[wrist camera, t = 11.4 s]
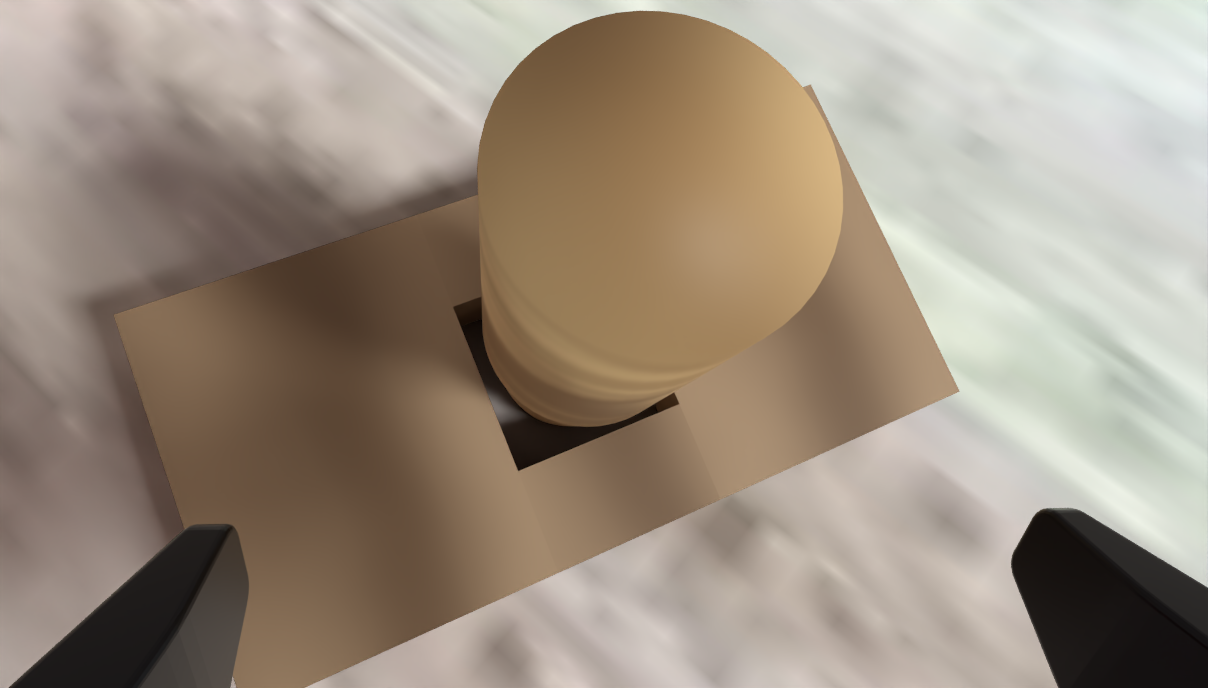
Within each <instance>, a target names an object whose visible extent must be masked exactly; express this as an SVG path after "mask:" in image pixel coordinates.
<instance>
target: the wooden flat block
mask: <svg viewBox="0 0 1208 688" xmlns="http://www.w3.org/2000/svg"><path fill="white" fill-rule="evenodd" d="M803 89H804V90H805V92H806V93H807V94H808V96H809V97H810V98H811V100H812V101H813V103H814V104H815V106H816V108H817V109H818V111H819V113H820V115H821V117H822V118H823V120H824V122H825V124H826V126H827V129H828V131H829V134H830V136H831V138H832V141H833V143H834V146H835V150H836V154H837V157H838V161H839V165H840V171H841V178H842V185H843V215H842V223H841V231H840V235H839V239H838V243H837V246H836V250H835V254H834V256H833V258H832V261H831V263H830V265H829V268H828V270H827V272H826V274H825V276H824V278H823V279H822V281H821V283H820V284H819V286H818V288H817V289H816V291H815V293H814V294H813V295H812V296H811V297H810V299H809V300H808V301H807V302H806V304H805V305H804V306H803V307H802V308H801V310H800V311H799V312H797V313H796V314H795V315H794V316H793V317H792V318H791V319H790V320H789V321H788V322H786V323H785V324H784V325H783V326H782V327H780V328H779V329H777V330H776V331H774V332H773V333H771V334H770V335H768V336H767V337H765V338H764V339H762V340H761V341H759V342H757V343H756V344H754V345H752V346H751V347H749V348H747V349H746V350H744V351H742V352H741V353H739V354H737V355H735V356H734V357H732V358H730V359H729V360H727V361H725V362H724V363H722V364H720V365H719V366H717V367H715V368H714V369H712V370H710V371H709V372H707V373H705V374H704V375H702V376H700V377H699V378H697V379H695V380H694V381H692V382H690V383H689V384H687V385H685V386H684V387H682V388H680V389H679V390H677V391H675V392H674V393H672V394H670V395H669V396H667V397H665V398H663V399H662V400H660V401H658V402H657V403H655V406H656V408H657V411H658V413H657V414H654V415H652V416H650V417H647V418H645V419H642V420H640V421H638V422H635V423H633V424H630V425H628V426H626V427H623V428H621V429H618V430H616V431H614V432H611V433H609V434H606V435H604V436H602V437H599V438H597V439H594V440H592V441H590V442H587V443H585V444H582V445H580V446H578V447H575V448H573V449H570V450H568V451H566V452H563V453H561V454H558V455H556V456H554V457H551V458H549V459H546V460H544V461H542V462H539V463H537V464H534V465H532V466H530V467H527V468H525V469H522V470H520V471H518V470H517V467H516V465H515V462H514V460H513V457H512V455H511V452H510V450H509V447H508V445H507V442H506V439H505V437H504V434H503V432H502V429H501V427H500V424H499V422H498V419H497V417H496V414H495V412H494V409H493V407H492V404H491V402H490V399H489V397H488V394H487V392H486V389H485V386H484V384H483V381H482V379H481V376H480V374H479V371H478V369H477V366H476V364H475V361H474V359H473V356H472V354H471V351H470V349H469V346H468V344H467V341H466V339H465V336H464V333H463V331H462V328H461V326H464V325H466V324H469V323H472V322H475V321H477V320H480V319H482V297H481V267H480V236H479V206H478V195H475V196H472V197H469V198H466V199H463V200H460V201H457V202H454V203H451V204H448V205H445V206H442V207H439V208H436V209H433V210H430V211H426V212H423V213H420V214H417V215H414V216H411V217H408V218H405V219H402V220H399V221H396V222H393V223H390V224H387V225H384V226H381V227H378V228H375V229H372V230H369V231H366V232H363V233H360V234H357V235H354V236H351V237H348V238H345V239H342V240H339V241H336V242H332V243H329V244H326V245H323V246H320V247H317V248H314V249H311V250H308V251H305V252H302V253H299V254H296V255H293V256H290V257H287V258H284V259H281V260H278V261H275V262H272V263H269V264H266V265H263V266H260V267H257V268H254V269H251V270H248V271H245V272H242V273H239V274H235V275H232V276H229V277H226V278H223V279H220V280H217V281H214V282H211V283H208V284H205V285H202V286H199V287H196V288H193V289H190V290H187V291H184V292H181V293H178V294H175V295H172V296H169V297H166V298H163V299H160V300H157V301H154V302H151V303H148V304H145V305H142V306H138V307H135V308H132V309H129V310H126V311H123V312H120V313H117V314H114V318H115V321H116V324H117V327H118V330H119V333H120V336H121V339H122V342H123V345H124V348H125V351H126V354H127V357H128V360H129V363H130V366H131V370H132V373H133V376H134V379H135V382H136V385H137V388H138V391H139V394H140V397H141V400H142V403H143V406H144V409H145V412H146V415H147V418H148V421H149V424H150V427H151V430H152V433H153V436H154V439H155V442H156V445H157V448H158V451H159V454H160V457H161V460H162V463H163V466H164V469H165V472H166V475H167V478H168V481H169V484H170V487H171V490H172V493H173V496H174V499H175V502H176V505H177V509H178V512H179V515H180V518H181V521H182V524H183V527H184V529H186V528H188V527H189V526H191V525H195V524H230V525H233V526H234V527H235V528H236V530H237V532H238V535H239V539H240V543H241V548H242V552H243V556H244V560H245V564H246V568H247V573H248V578H249V595H248V602H247V607H246V612H245V617H244V621H243V626H242V631H241V636H240V641H239V646H238V651H237V656H236V661H235V666H234V671H233V678H234V681H235V684H236V687H237V688H305V687H307V686H309V685H311V684H313V683H316V682H318V681H320V680H322V679H324V678H327V677H329V676H331V675H333V674H335V673H338V672H340V671H342V670H344V669H347V668H349V667H351V666H353V665H355V664H358V663H360V662H362V661H364V660H366V659H369V658H371V657H373V656H375V655H377V654H380V653H382V652H384V651H386V650H389V649H391V648H393V647H395V646H397V645H400V644H402V643H404V642H406V641H408V640H411V639H413V638H415V637H417V636H419V635H422V634H424V633H426V632H428V631H431V630H433V629H435V628H437V627H439V626H442V625H444V624H446V623H448V622H450V621H453V620H455V619H457V618H459V617H462V616H464V615H466V614H468V613H470V612H473V611H475V610H477V609H479V608H481V607H484V606H486V605H488V604H490V603H492V602H495V601H497V600H499V599H501V598H504V597H506V596H508V595H510V594H512V593H515V592H517V591H519V590H521V589H523V588H526V587H528V586H530V585H532V584H534V583H537V582H539V581H541V580H543V579H546V578H548V577H550V576H552V575H554V574H557V573H559V572H561V571H563V570H565V569H568V568H570V567H572V566H574V565H576V564H579V563H581V562H583V561H585V560H588V559H590V558H592V557H594V556H596V555H599V554H601V553H603V552H605V551H607V550H610V549H612V548H614V547H616V546H619V545H621V544H623V543H625V542H627V541H630V540H632V539H634V538H636V537H638V536H641V535H643V534H645V533H647V532H649V531H652V530H654V529H656V528H658V527H661V526H663V525H665V524H667V523H669V522H672V521H674V520H676V519H678V518H680V517H683V516H685V515H687V514H689V513H691V512H694V511H696V510H698V509H700V508H703V507H705V506H707V505H709V504H711V503H714V502H716V501H718V500H720V499H722V498H725V497H727V496H729V495H731V494H733V493H736V492H738V491H740V490H742V489H745V488H747V487H749V486H751V485H753V484H756V483H758V482H760V481H762V480H764V479H767V478H769V477H771V476H773V475H776V474H778V473H780V472H782V471H784V470H787V469H789V468H791V467H793V466H795V465H798V464H800V463H802V462H804V461H806V460H809V459H811V458H813V457H815V456H818V455H820V454H822V453H824V452H826V451H829V450H831V449H833V448H835V447H837V446H840V445H842V444H844V443H846V442H848V441H851V440H853V439H855V438H857V437H860V436H862V435H864V434H866V433H868V432H871V431H873V430H875V429H877V428H879V427H882V426H884V425H886V424H888V423H890V422H893V421H895V420H897V419H899V418H902V417H904V416H906V415H908V414H910V413H913V412H915V411H917V410H919V409H921V408H924V407H926V406H928V405H930V404H932V403H935V402H937V401H939V400H941V399H944V398H946V397H948V396H950V395H952V394H955V393H957V392H959V389H958V387H957V385H956V383H955V381H954V379H953V377H952V375H951V373H950V371H949V369H948V367H947V365H946V363H945V361H944V359H943V357H942V354H941V352H940V350H939V348H938V346H937V344H936V342H935V340H934V338H933V336H932V334H931V332H930V330H929V328H928V326H927V324H926V321H925V319H924V317H923V315H922V313H921V311H920V309H919V307H918V305H917V303H916V301H915V299H914V297H913V295H912V293H911V291H910V288H909V286H908V284H907V282H906V280H905V278H904V276H903V274H902V272H901V270H900V268H899V266H898V264H897V262H896V260H895V258H894V256H893V253H892V251H891V249H890V247H889V245H888V243H887V241H886V239H885V237H884V235H883V233H882V231H881V229H880V227H879V225H878V223H877V220H876V218H875V216H874V214H873V212H872V210H871V208H870V206H869V204H868V202H867V200H866V198H865V196H864V194H863V192H862V190H861V188H860V185H859V183H858V181H857V179H856V177H855V175H854V173H853V171H852V169H851V167H850V165H849V163H848V161H847V159H846V157H845V155H844V152H843V150H842V148H841V146H840V144H839V142H838V140H837V138H836V136H835V134H834V132H833V130H832V128H831V126H830V124H829V122H828V120H827V117H826V115H825V113H824V111H823V109H822V107H821V105H820V103H819V101H818V99H817V97H816V95H815V93H814V91H813V89H812V87H811V85H808V86H805V87H803Z"/></svg>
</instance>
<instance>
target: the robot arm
mask: <svg viewBox="0 0 1208 688" xmlns="http://www.w3.org/2000/svg"><path fill="white" fill-rule="evenodd" d="M1011 568H1012V573H1013V577H1014V579H1015V582H1016V584H1017V587H1018V589H1019V592H1020V594H1021V597H1022V599H1023V602H1024V604H1025V607H1026V609H1027V612H1028V614H1029V617H1030V619H1031V622H1032V624H1033V627H1034V629H1035V632H1036V634H1037V637H1038V639H1039V642H1040V644H1041V647H1042V649H1043V651H1044V654H1045V656H1046V659H1047V661H1048V664H1049V666H1050V669H1051V671H1052V674H1053V676H1054V679H1055V681H1056V683H1057V686H1058V688H1208V587H1206V586H1204V585H1203V584H1201V583H1199V582H1198V581H1196V580H1194V579H1193V578H1191V577H1189V576H1188V575H1186V574H1184V573H1183V572H1181V571H1180V570H1178V569H1176V568H1175V567H1173V566H1171V565H1170V564H1168V563H1166V562H1165V561H1163V560H1161V559H1160V558H1158V557H1156V556H1155V555H1153V554H1151V553H1150V552H1148V551H1147V550H1145V549H1143V548H1142V547H1140V546H1138V545H1137V544H1135V543H1133V542H1132V541H1130V540H1128V539H1127V538H1125V537H1123V536H1122V535H1120V534H1119V533H1117V532H1115V531H1114V530H1112V529H1110V528H1109V527H1107V526H1105V525H1104V524H1102V523H1100V522H1099V521H1097V520H1095V519H1094V518H1092V517H1090V516H1089V515H1087V514H1086V513H1084V512H1082V511H1080V510H1077V509H1073V508H1046V509H1042V510H1040V511H1039V512H1037V513H1036V514H1035V515H1034V517H1033V518H1032V520H1031V522H1030V524H1029V526H1028V527H1027V529H1026V531H1025V533H1024V534H1023V536H1022V538H1021V540H1020V542H1019V543H1018V545H1017V547H1016V549H1015V550H1014V552H1013V555H1012V560H1011ZM248 595H249V578H248V573H247V568H246V564H245V560H244V556H243V552H242V548H241V543H240V539H239V535H238V532H237V530H236V528H235V527H234V526H233V525H230V524H195V525H191V526H189V527H188V528H186V529H184V530H183V531H182V532H181V533H180V534H178V535H177V536H176V537H175V538H174V539H173V540H172V541H171V542H170V543H169V544H167V545H166V546H165V547H164V548H163V549H162V550H161V551H160V552H159V553H157V554H156V555H155V556H154V557H153V558H152V559H151V560H150V561H149V562H147V563H146V564H145V565H144V566H143V567H142V568H141V569H140V570H139V571H137V572H136V573H135V574H134V575H133V576H132V577H131V578H130V579H129V580H127V581H126V582H125V583H124V584H123V585H122V586H121V587H120V588H119V589H117V590H116V591H115V592H114V593H113V594H112V595H111V596H110V597H109V598H107V599H106V600H105V601H104V602H103V603H102V604H101V605H100V606H99V607H98V608H96V609H95V610H94V611H93V612H92V613H91V614H90V615H89V616H88V617H86V618H85V619H84V620H83V621H82V622H81V623H80V624H79V625H78V626H76V627H75V628H74V629H73V630H72V631H71V632H70V633H69V634H68V635H66V636H65V637H64V638H63V639H62V640H61V641H60V642H59V643H58V644H56V645H55V646H54V647H53V648H52V649H51V650H50V651H49V652H48V653H46V654H45V655H44V656H43V657H42V658H41V659H40V660H39V661H38V662H36V663H35V664H34V665H33V666H32V667H31V668H30V669H29V670H28V671H26V672H25V673H24V674H23V675H22V676H21V677H20V678H19V679H18V680H17V681H15V682H14V683H13V684H12V685H11V686H10V687H9V688H230V686H231V681H232V676H233V671H234V666H235V661H236V656H237V651H238V646H239V641H240V636H241V631H242V626H243V621H244V617H245V612H246V607H247V602H248Z"/></svg>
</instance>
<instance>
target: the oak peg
mask: <svg viewBox="0 0 1208 688" xmlns="http://www.w3.org/2000/svg"><path fill="white" fill-rule="evenodd" d="M477 176H478V206H479V236H480V267H481V297H482V326H483V338H484V343H485V348H486V351H487V354H488V358H489V361H490V363H491V365H492V367H493V369H494V371H495V373H496V375H497V376H498V378H499V379H500V381H501V382H502V384H503V385H504V386H505V387H506V389H507V391H508V392H509V394H510V395H511V397H512V398H513V399H514V401H515V402H516V403H517V404H518V405H519V406H520V407H521V408H522V409H523V410H524V411H525V412H527V413H528V414H529V415H531V416H532V417H534V418H536V419H538V420H540V421H543V422H545V423H550V424H554V425H559V426H583V427H593V426H603V425H609V424H614V423H617V422H620V421H623V420H626V419H628V418H630V417H632V416H634V415H636V414H638V413H640V412H642V411H643V410H645V409H647V408H648V407H650V406H652V405H653V404H655V403H657V402H658V401H660V400H662V399H663V398H665V397H667V396H669V395H670V394H672V393H674V392H675V391H677V390H679V389H680V388H682V387H684V386H685V385H687V384H689V383H690V382H692V381H694V380H695V379H697V378H699V377H700V376H702V375H704V374H705V373H707V372H709V371H710V370H712V369H714V368H715V367H717V366H719V365H720V364H722V363H724V362H725V361H727V360H729V359H730V358H732V357H734V356H735V355H737V354H739V353H741V352H742V351H744V350H746V349H747V348H749V347H751V346H752V345H754V344H756V343H757V342H759V341H761V340H762V339H764V338H765V337H767V336H768V335H770V334H771V333H773V332H774V331H776V330H777V329H779V328H780V327H782V326H783V325H784V324H785V323H786V322H788V321H789V320H790V319H791V318H792V317H793V316H794V315H795V314H796V313H797V312H799V311H800V310H801V308H802V307H803V306H804V305H805V304H806V302H807V301H808V300H809V299H810V297H811V296H812V295H813V294H814V293H815V291H816V289H817V288H818V286H819V284H820V283H821V281H822V279H823V278H824V276H825V274H826V272H827V270H828V268H829V265H830V263H831V261H832V258H833V256H834V254H835V250H836V246H837V243H838V239H839V235H840V231H841V223H842V215H843V185H842V178H841V171H840V165H839V161H838V157H837V154H836V150H835V146H834V143H833V141H832V138H831V136H830V134H829V131H828V129H827V126H826V124H825V122H824V120H823V118H822V117H821V115H820V113H819V111H818V109H817V108H816V106H815V104H814V103H813V101H812V100H811V98H810V97H809V96H808V94H807V93H806V92H805V90H804V89H803V87H802V86H801V85H800V84H799V83H798V81H797V80H796V79H795V78H794V77H793V76H792V75H791V74H790V73H789V72H788V71H787V70H786V68H784V67H783V66H782V65H781V64H780V63H779V62H778V61H776V60H775V59H774V58H773V57H772V56H771V55H769V54H768V53H767V52H765V51H764V50H763V49H761V48H760V47H758V46H757V45H755V44H754V43H752V42H751V41H749V40H748V39H746V38H744V37H742V36H740V35H738V34H736V33H735V32H733V31H731V30H729V29H727V28H724V27H721V26H719V25H716V24H714V23H711V22H709V21H706V20H702V19H698V18H695V17H691V16H687V15H682V14H676V13H669V12H661V11H633V12H622V13H615V14H610V15H605V16H601V17H596V18H593V19H590V20H587V21H585V22H582V23H579V24H576V25H574V26H572V27H570V28H568V29H566V30H564V31H562V32H560V33H558V34H556V35H554V36H553V37H551V38H550V39H548V40H547V41H546V42H544V43H543V44H541V45H540V46H538V47H537V48H536V49H535V50H533V51H532V52H531V53H530V54H529V55H528V56H527V57H526V58H525V59H524V60H523V61H522V62H521V63H520V64H519V65H518V66H517V67H516V68H515V70H514V71H513V72H512V73H511V75H510V76H509V77H508V78H507V80H506V81H505V82H504V84H503V86H502V87H501V89H500V91H499V93H498V94H497V96H496V98H495V99H494V101H493V104H492V106H491V109H490V111H489V113H488V116H487V118H486V121H485V124H484V128H483V132H482V136H481V140H480V145H479V155H478V165H477Z"/></svg>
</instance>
